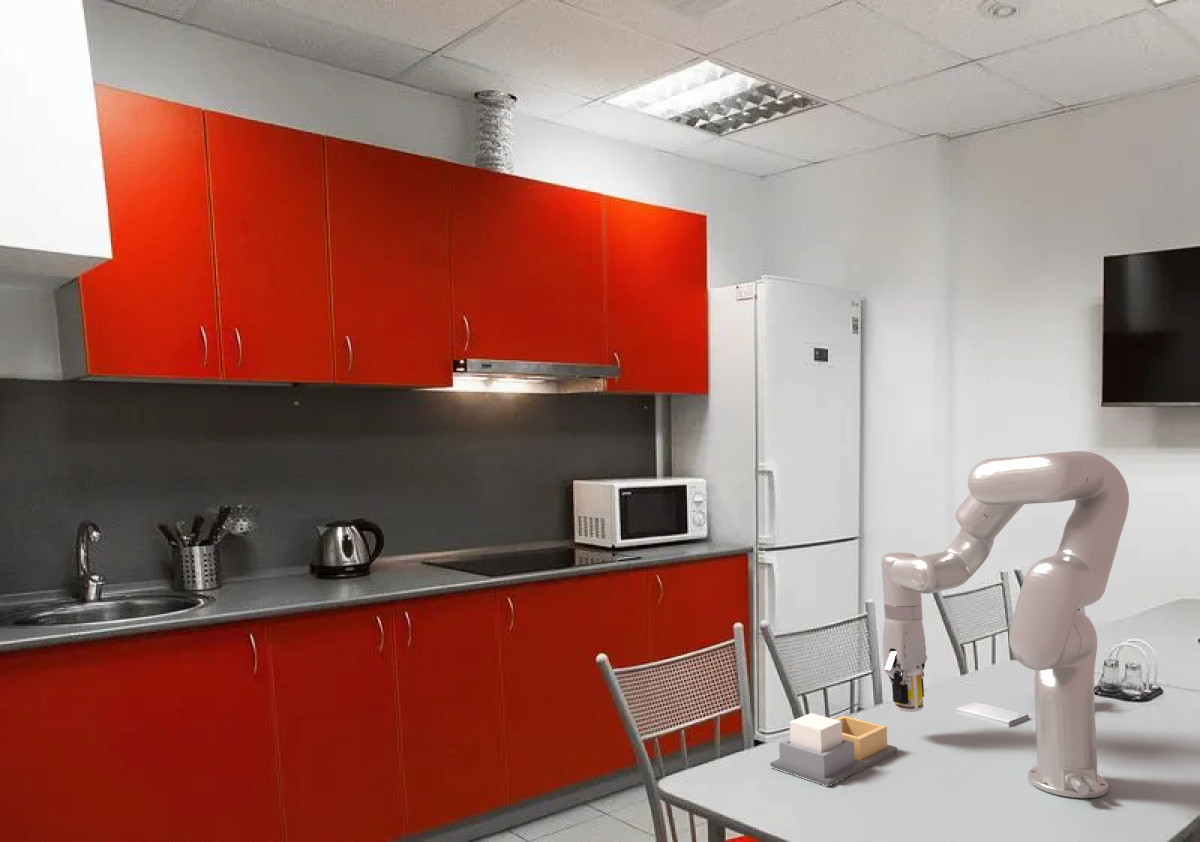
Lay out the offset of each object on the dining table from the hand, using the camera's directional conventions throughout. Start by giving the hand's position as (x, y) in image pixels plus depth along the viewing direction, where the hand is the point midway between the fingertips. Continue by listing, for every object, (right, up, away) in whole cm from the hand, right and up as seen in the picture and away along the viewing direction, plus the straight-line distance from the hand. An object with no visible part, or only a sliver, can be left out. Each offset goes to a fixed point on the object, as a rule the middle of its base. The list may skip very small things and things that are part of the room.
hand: (908, 698), depth 180 cm
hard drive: (+23, -9, +12) cm, 27 cm away
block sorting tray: (-18, -9, -11) cm, 23 cm away
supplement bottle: (0, -2, 0) cm, 2 cm away
